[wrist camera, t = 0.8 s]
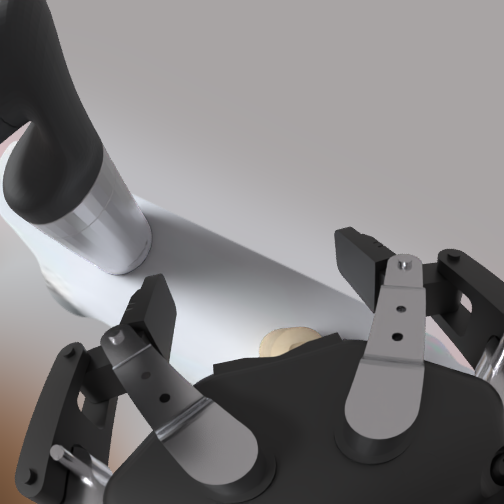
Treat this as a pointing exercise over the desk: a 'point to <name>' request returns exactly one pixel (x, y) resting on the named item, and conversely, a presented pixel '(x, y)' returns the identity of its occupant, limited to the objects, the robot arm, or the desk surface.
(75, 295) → the desk surface
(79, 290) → the desk surface
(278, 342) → the candle
